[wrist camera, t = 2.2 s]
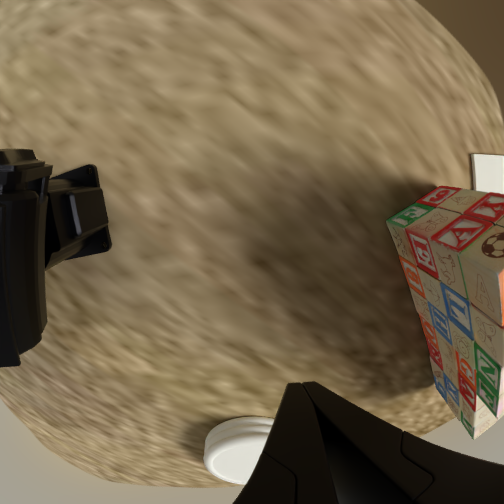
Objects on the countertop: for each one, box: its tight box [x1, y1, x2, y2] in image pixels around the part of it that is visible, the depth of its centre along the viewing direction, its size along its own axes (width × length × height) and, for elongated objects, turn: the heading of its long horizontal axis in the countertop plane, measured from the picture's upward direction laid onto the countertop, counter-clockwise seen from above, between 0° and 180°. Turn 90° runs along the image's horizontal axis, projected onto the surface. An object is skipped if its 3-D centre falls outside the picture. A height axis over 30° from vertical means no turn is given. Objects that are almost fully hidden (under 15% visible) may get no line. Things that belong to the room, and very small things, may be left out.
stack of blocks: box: [386, 186, 504, 440], centre depth 16 cm, size 21×6×12 cm, turn 31°
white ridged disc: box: [203, 416, 274, 485], centre depth 24 cm, size 10×10×4 cm
